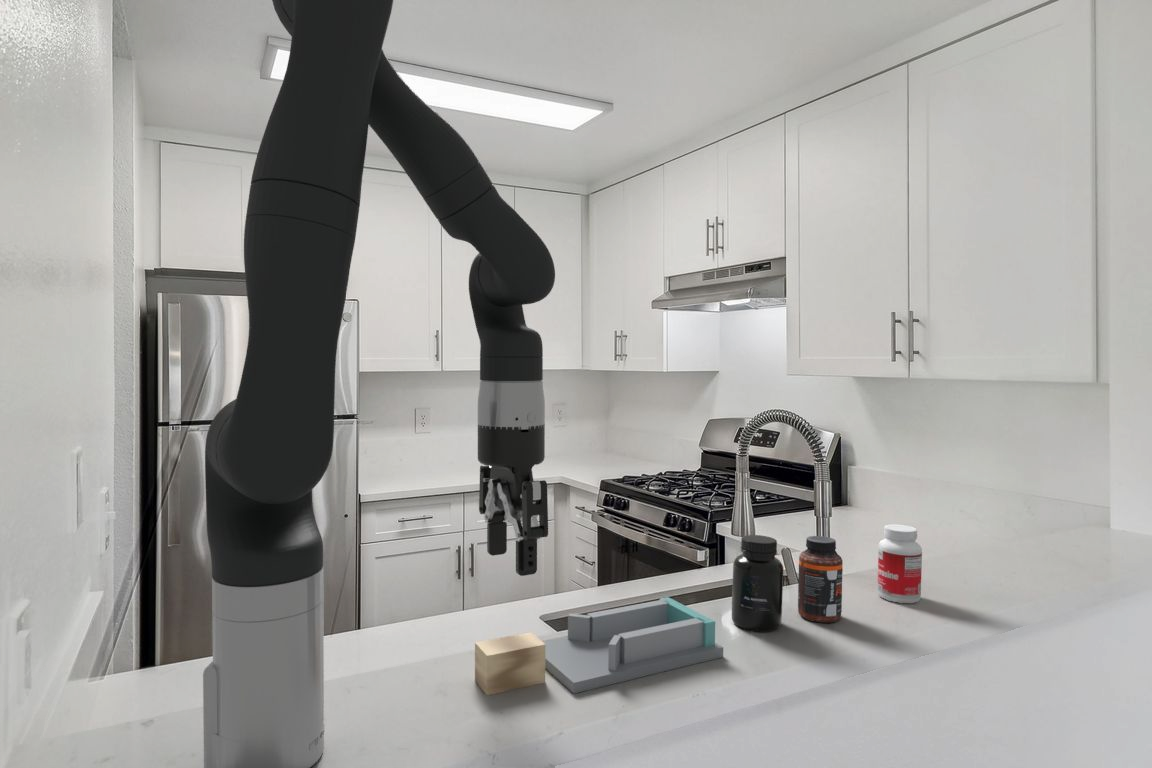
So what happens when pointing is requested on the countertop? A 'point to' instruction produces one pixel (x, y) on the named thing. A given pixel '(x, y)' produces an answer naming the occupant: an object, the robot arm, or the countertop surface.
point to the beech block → (509, 663)
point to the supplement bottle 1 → (757, 585)
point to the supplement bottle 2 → (820, 581)
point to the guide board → (630, 644)
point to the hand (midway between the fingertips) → (511, 563)
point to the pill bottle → (899, 565)
